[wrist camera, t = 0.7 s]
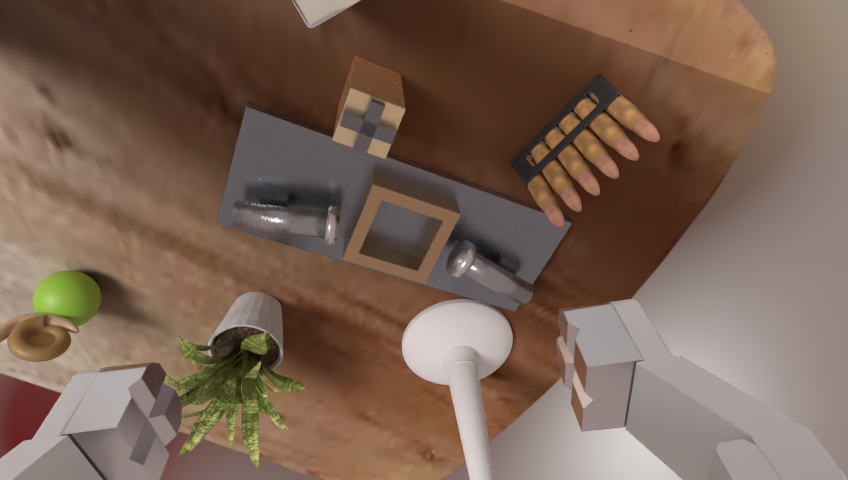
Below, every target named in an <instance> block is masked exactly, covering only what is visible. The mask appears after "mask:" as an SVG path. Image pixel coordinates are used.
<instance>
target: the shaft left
mask: <svg viewBox="0 0 848 480" xmlns="http://www.w3.org/2000/svg"><path fill="white" fill-rule="evenodd" d="M289 192H290V191H286V190H278V189H271V188H263V187H262V190H261V192H260V200H259V203H255V202H248V201H240V200H236V202H235V204H234V208H233V214H232V226H233V227H234V228H242V229H251V230H259V231H267V232H276V233H284V234H292V235H300V236H309V237H317V238H325V242H324V245H328V246H333V245H334V240H338V232H339V224H340V216H341V213H337V212H338V206H331V205H329V209H328V212H325V211H317V210H310V209H302V208H294V207H289Z"/></svg>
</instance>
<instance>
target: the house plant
mask: <svg viewBox="0 0 848 480" xmlns="http://www.w3.org/2000/svg"><path fill="white" fill-rule="evenodd" d="M179 337H180V336H179ZM180 339H181V340H182V341H183V342H182V341H181V340H180ZM179 342H180V349H181V352H182V353H183V355H184V356H185V357H186V358H187V359H189V360H190V361H191V363H192V364H193V365H194V366H195V367H196V368H197V369H199V370H202V372H200V373H197V374H194V375H191V376H188V377H186V378H184V379H182V380H176V379H173V378H171V377H169V376H167V375H166V377H165V380H164V381H166V382H167V383H169V384H170V385H172V386H174V387H178V389H175V390H176V392H177V394H181V393H184V392H187V391H189V392H187V393H185V394H183V395H181V396H179V397H180V401H181V406H182V407H184V406H186V405H189V404H194V405H200V404H203V403H205V402H207V401H208V400H210V399H212V398H213V397H214V399H213V400H212V401H211V403H210V404H209V405H208V407H207V408H206V409H204V410H202V411H199V412H196V413H192V414H187V415H182V416H181V418H186V417H191V416H197V415H200V414H201V416H200V417H199V418H198V419H197V421H196V422H195V423H194V425H193V428H192V431H191V434H190V437H189V439H188V440H187V441H186V443H185V444H184V445H183V447H182V449H181V452H180V454H179V456H180V455H182V454H184V453H186V452H187V451H189V450H190V451H191V450H192V449H193V448H194V447H195V446H196V445H197V444H198V443H199V442H200V441H201V440H202V439H203V438H204V437H205V436H206V435H207V433H208V432H209V431H210V430H211V428H212V427H213V426H214V425H215V424H216V422H217V421H218V420H219V419H220V418H221V417H222V415H223V414H224V413H225V411H226V410H227V415H226V419H227V427H228V441H229V444H230V447H231V449H232V444H233V437H234V429H235V422H236V415H237V408H238V404H239V403H241V404H243V406H242V437H243V441H244V443H245V445H246V447H247V449H248V451H249V454H250V457H251V460H252V462H253V463H254V464H255V465H256V467H257V468H258V467H259V438H258V423H259V410H260V411H261V412H263V413H266V414H267V415H268V416H269V418H270V419H271V420H272V421H273V422H274V423H275V424H276V425H277V426H278V427H280V428H281V429H284V430H286V431H288V432H290V431H289V430H288V428H287V426H286V425H285V424H284V423H283V422H282V421H281V419H280V417H279V415H278V413H277V412H276V410H275V409H274V408H273V406H272V405H271V403H270V401H269V398H268V395H267V393H266V391H265V388H264V385H263V383H264V384H265V385H266V386H267V388H268V389H269V390H271V391H272V392H274V393H276V394H277V393H279V392H280V391H279V390H277V389H275V388H272V387H271V386H270V385H269V384H268V383H267V382H266V381H264V380H263V379H262V377H261V376H264V375H266V377H267V378H268V379H269V380H270V381H271V382H272V383H273V384H274V385H276V386H277V387H279V388H281V389H282V390H284V391H287V392H298V391H302V390H304V389H306V388H308V387H305V386H304V385H303V384H302V383H300V382H298V381H296V380H293V379H290V378H287V377H284V376H281V375H278V374H276V373H274V372H273V371H274V370H275V369H276V368H277V367H278V366H279V365H280V363H281V361H282V358H283V324H282V308H281V305H280V303H279V302H278V301H277V300H276V299H275V298H274V297H272V296H271V295H268V294H266V293H262V292H249V293H245V294H243V295H241V296H240V297H239V298H237V299H236V301H235V302H234V304H233V305H232V307H231V308H230V310H229V311H228V313H227V314H226V316H225V317H224V319H223V320H222V322H221V323H220V325H219V326H218V328H217V329H216V331H215V332H214V334H213V335H212V337H211V339H210V341H209V344H208V346H203V345H197V344H193V343H190V342H189V341H188V340H186V339H184V338H182V337H180V338H179ZM197 350H198V351H206V350H208V352H209V356H206V355H204V354H202V353H200V352H198V351H197ZM199 363H201V364H215V365H214V366H205V365H201V364H199ZM241 382H242V394H241ZM262 382H263V383H262ZM242 396H243V399H242ZM190 451H189V452H190Z"/></svg>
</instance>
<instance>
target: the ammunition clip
mask: <svg viewBox="0 0 848 480" xmlns="http://www.w3.org/2000/svg"><path fill="white" fill-rule="evenodd" d="M603 110H606V111H607V112H608V113H609V114H610V115H611V117H610V116H609V115H608V114H607V113H605V112H604V111H603ZM618 122H619V123H620V124H622V125H623V126H624V127H626V128H627V129H630V130H632V131H633V132H635V133H636V134H638V135H639V136H641V137H642V138H644V139H646V140H648V141H652V142H659V141H660V135H659V133H658V131H657V129H656V128H655V126H654V125H653V124H652V123H651V122H650V121H649V120H648V119H647V118H646V117H645V116H644V115H643V113H642V111H641V110H640V109H639V108H637V107H636V106H635V105H634V104H632V103H631V102H630V101H629V100H627V99H626V98H625V97H624V96H622V95H621V94H620V93H619V92H617V91H616V90H615V89H614V88H613V87H612V86H611V85H610V84H609V83H608V82H607V81H606V80H605V79H604V78H603V77H602V76H601V75H600V74H597V75H596V76H595V77H594V78H593V79H592V80H591V81H590V82H589V83H588V84H587V85H586V86H585V87H584V88H583V89H582V90H581V91H580V92H579V93H578V94H577V95H576V96H575V97H574V98H573V99H572V100H571V101H570V102H569V103H568V104H567V105H566V106H565V108H564V109H563V110H562V111H561V112H560V113H559V114H558V115H557V116H556V117H555V118H554V119H553V120H552V121H551V122H550V123H549V124H548V125H547V126H546V127H545V128H544V129H543V130H542V131H541V132H540V133H539V134H538V135H537V136H536V137H535V138H534V139H533V140H532V141H531V142H530V143H529V144H528V145H527V146H526V147H525V148H524V149H523V150H522V151H521V152H520V153H519V154H518V155H517V156H516V157H515V158H514V159H513V160H512V161H511V165H512V166H513V168H514V169H515V171H516V172H517V174H518V175H519V177H520V178H521V180H522V181H523V183H524V184H525V186H527V187H528V189H529V191H530V192H531V194H532V196H533V198H534V200H535V201H536V203H537V205H538V206H539V207H540V208H541V209H542V210H543V211H544V213H545V214H546V216H547V217H548V219H549V220H550V221H551V222H552V223H553V224H554V225H555V226H557V227H559V228H563V226H564V218H563V214H562V211H561V209H560V207H559V205H558V203H557V201H556V196H555V194H554V192H553V190H554V191H555V192H556V193H557V194H559V196H560V197H561V198H562V199H563V201H564V202H565V203H566V204H567V205H568V207H570V208H571V209H572V210H574V211H576V212H581V209H582V205H581V200H580V197H579V195H578V193H577V192H576V190H575V188H574V186H573V184H572V180H571V178H570V177H569V175H568V174H567V172H568V173H569V174H570V176H572V177H573V178H575V179H576V180H577V182H578V183H580V185H581V186H582V187H583V188H584V189H585V190H586V191H587V192H589V193H591V194H593V195H596V196H598V195H599V194H600V187H599V184H598V181H597V179H596V178H595V176H594V175H593V173H592V172H591V170H590V168H589V165H588V163H587V162H586V160H585V159H584V158H583V155H584V157H585V158H586V159H587V160H588V161H590V162H591V163H593V164H594V165H595V166H596V167H597V168H598V169H599V170H600V171H601V172H603V173H604V174H605V175H607V176H609V177H611V178H614V179H617V178H618V177H619V171H618V168H617V165H616V164H615V162H614V161H613V159H612V158H611V157H610V155H609V154H608V153H607V151H606V148H605V147H604V145H603V144H602V143H601V142H600V141H599V140H600V139H601V140H602V141H603V142H604V143H605V144H607V145H609V146H611V147H612V148H613V149H615V150H616V151H617V152H618V153H619V154H621V155H622V156H624V157H625V158H627V159H630V160H634V161H637V160H639V153H638V150H637V148H636V147H635V145H634V144H633V142H632V141H631V140H630V139H629V138H628V136H627V135H626V134H625V132H624V131H623V129H622V128H621V127H620V126H619V125H618V124H617V123H618ZM587 126H589V127H590V128H591V129H592V130H593V131H594V133H595V134H593V133H592V132H591V131H590V130H589V129H588V128H587ZM571 141H572V142H573V144H574V145H575V146H576V147H577V148H578V150H577V149H576V148H575V146H574V145H573V144H572V143H571ZM556 157H557V158H558V159H559V161H560V162H561V163H562V165H561V164H560V162H559V161H558V159H557V158H556ZM541 171H542V172H541ZM566 171H567V172H566ZM542 173H543V174H542ZM550 186H551V187H552V189H553V190H552V189H551V187H550Z"/></svg>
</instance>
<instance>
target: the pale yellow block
mask: <svg viewBox="0 0 848 480" xmlns="http://www.w3.org/2000/svg"><path fill="white" fill-rule="evenodd" d="M405 110H406V107H405V100H404V93H403V86H402V79H401V74H400V73H398V72H395V71H393V70H390V69H388V68H385V67H383V66H380V65H378V64H375V63H373V62H370V61H368V60H366V59H363V58H361V57H358V56H356V55H355V57H354V60H353V63H352V66H351V69H350V72H349V74H348V77H347V80H346V83H345V86H344V89H343V92H342V95H341V98H340V101H339V106H338V112H337V117H336V122H335V128H334V133H333V138H332V140H333V141H336V142H338V143H341V144H344V145H347V146H350V147H352V148H353V150H352V151H355V152H358V153H360V154H363V155H366V154H367V153H369V154H372V155H375V156H378V157H381V158H383V159H385V158H386V156H387V154H388V151H389V149H390V146H391V145H392V143H393V140H394V138H395V135H396V133H397V129H398V127H399V124H400V122H401V120H402V117H403V115H404V112H405Z"/></svg>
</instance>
